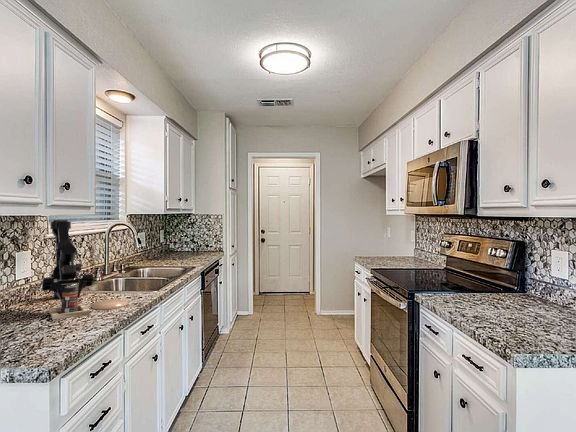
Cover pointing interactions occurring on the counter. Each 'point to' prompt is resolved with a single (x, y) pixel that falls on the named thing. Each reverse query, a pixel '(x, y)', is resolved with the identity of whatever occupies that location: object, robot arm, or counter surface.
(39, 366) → the counter surface
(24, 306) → the counter surface
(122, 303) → the terracotta pad
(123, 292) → the counter surface
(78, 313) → the birch collar
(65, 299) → the supplement bottle
